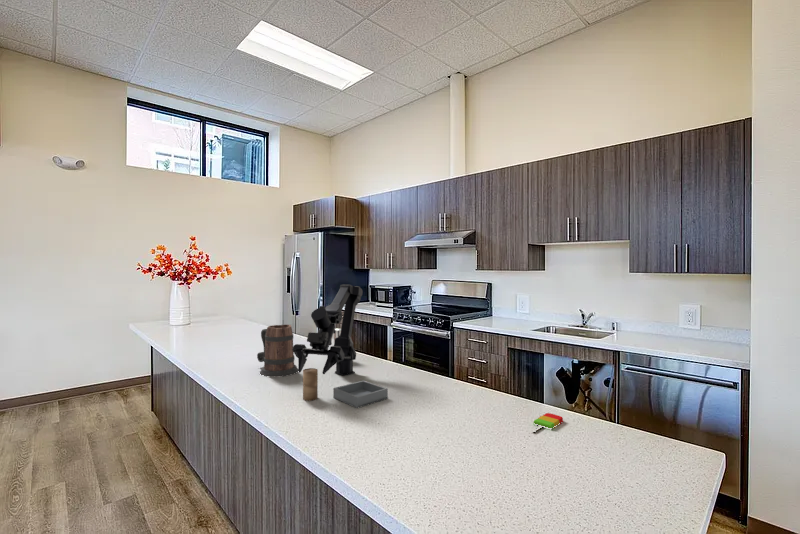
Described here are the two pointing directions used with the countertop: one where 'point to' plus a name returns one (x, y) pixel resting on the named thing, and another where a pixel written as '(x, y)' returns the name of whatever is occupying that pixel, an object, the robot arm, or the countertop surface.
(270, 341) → the tankard
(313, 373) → the walnut cylinder
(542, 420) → the popsicle
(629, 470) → the countertop surface
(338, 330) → the beer glass
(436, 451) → the countertop surface
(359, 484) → the countertop surface
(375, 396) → the tote
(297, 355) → the robot arm
